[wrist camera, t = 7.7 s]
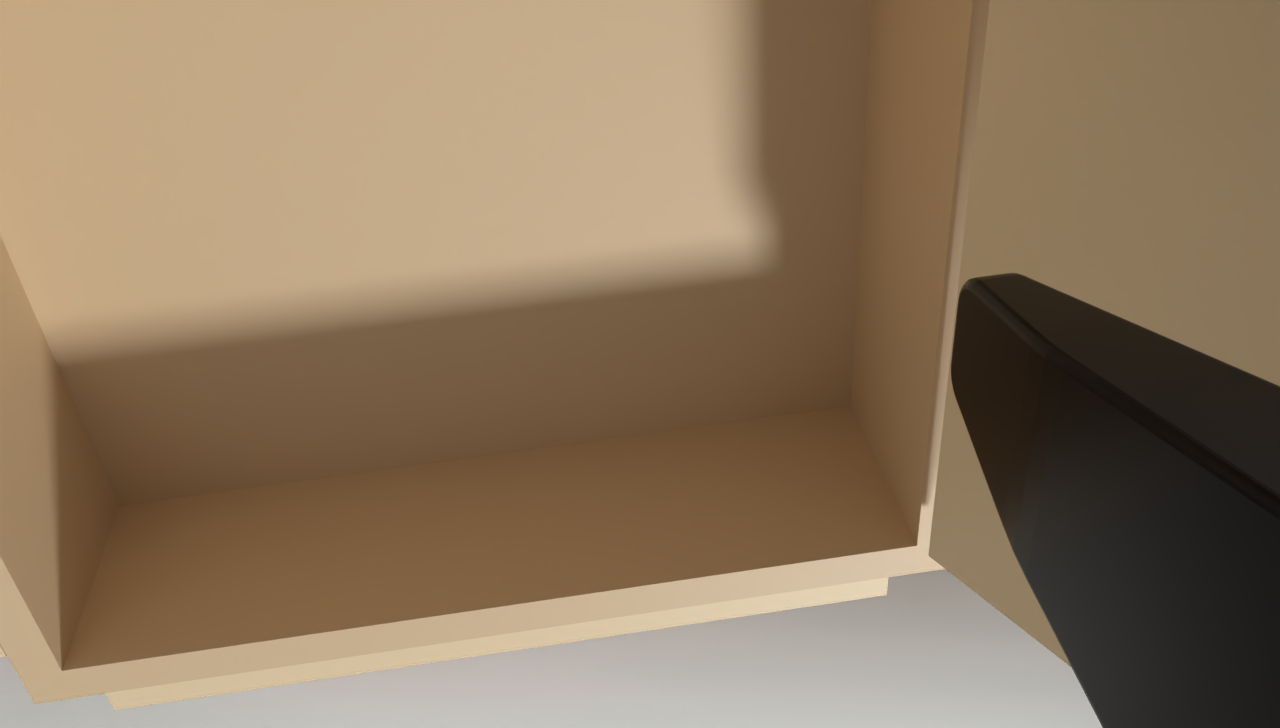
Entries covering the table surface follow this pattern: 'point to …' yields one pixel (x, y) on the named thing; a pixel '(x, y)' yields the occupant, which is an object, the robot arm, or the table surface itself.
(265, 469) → the carton
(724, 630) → the table surface
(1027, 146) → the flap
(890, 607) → the table surface
